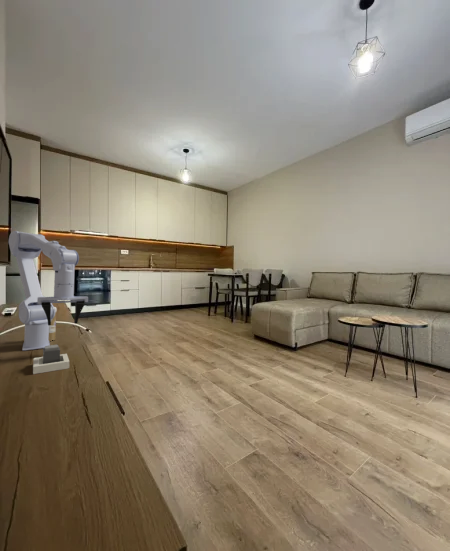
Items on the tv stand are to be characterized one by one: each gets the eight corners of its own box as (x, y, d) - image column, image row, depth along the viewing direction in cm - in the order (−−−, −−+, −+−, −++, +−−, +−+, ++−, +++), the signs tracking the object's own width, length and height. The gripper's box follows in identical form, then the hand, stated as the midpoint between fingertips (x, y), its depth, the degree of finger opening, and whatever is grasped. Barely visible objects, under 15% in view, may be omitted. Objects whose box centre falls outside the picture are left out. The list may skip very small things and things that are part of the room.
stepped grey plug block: (42, 365, 76) (43, 345, 76) (58, 363, 78) (59, 344, 78) (42, 370, 72) (43, 349, 72) (59, 367, 75) (60, 347, 75)
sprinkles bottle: (55, 341, 102) (56, 307, 102) (41, 342, 99) (42, 308, 99) (55, 338, 105) (56, 306, 105) (42, 339, 103) (43, 306, 103)
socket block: (33, 364, 76) (33, 358, 76) (66, 359, 81) (66, 353, 81) (33, 374, 69) (33, 366, 69) (69, 368, 74) (69, 361, 74)
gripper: (38, 284, 79) (36, 328, 79) (90, 285, 87) (88, 324, 88) (38, 283, 84) (36, 324, 84) (86, 283, 93) (85, 320, 93)
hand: (62, 323), depth 86 cm, fingers open, 7 cm apart
